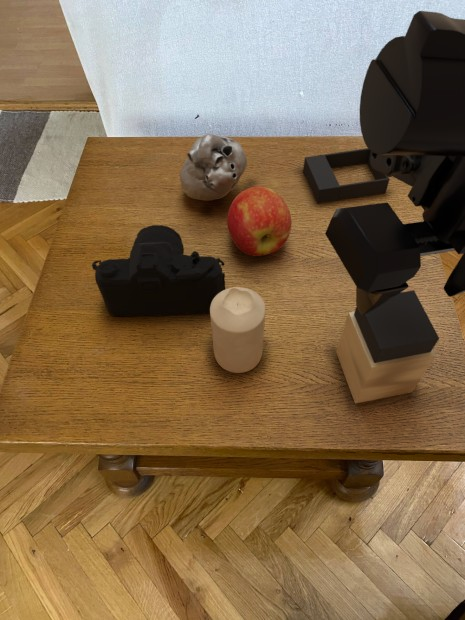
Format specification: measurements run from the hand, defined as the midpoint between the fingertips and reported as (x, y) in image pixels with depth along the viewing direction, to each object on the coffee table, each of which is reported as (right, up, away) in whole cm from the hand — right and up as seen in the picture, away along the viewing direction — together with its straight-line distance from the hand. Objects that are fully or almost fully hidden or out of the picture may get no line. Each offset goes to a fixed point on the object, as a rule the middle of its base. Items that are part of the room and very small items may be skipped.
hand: (405, 301), depth 42 cm
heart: (-18, +15, +28) cm, 36 cm away
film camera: (-23, +2, +18) cm, 30 cm away
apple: (-12, +8, +23) cm, 27 cm away
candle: (-14, -6, +13) cm, 20 cm away
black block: (0, -3, +4) cm, 5 cm away
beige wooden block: (0, -8, +11) cm, 13 cm away
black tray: (+1, +18, +29) cm, 34 cm away
